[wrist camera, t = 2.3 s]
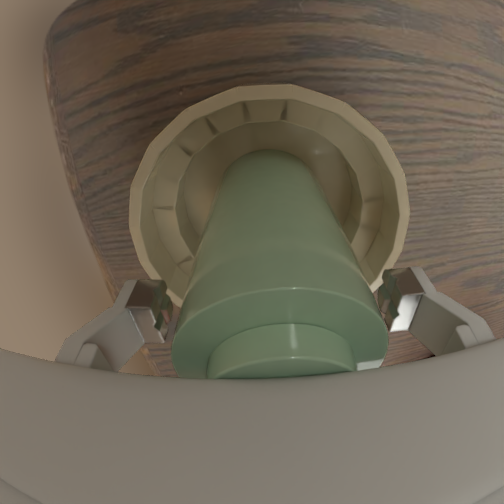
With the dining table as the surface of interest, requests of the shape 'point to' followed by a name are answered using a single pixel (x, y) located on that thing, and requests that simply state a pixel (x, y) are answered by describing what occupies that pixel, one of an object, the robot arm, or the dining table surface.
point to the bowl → (258, 138)
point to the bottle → (275, 282)
